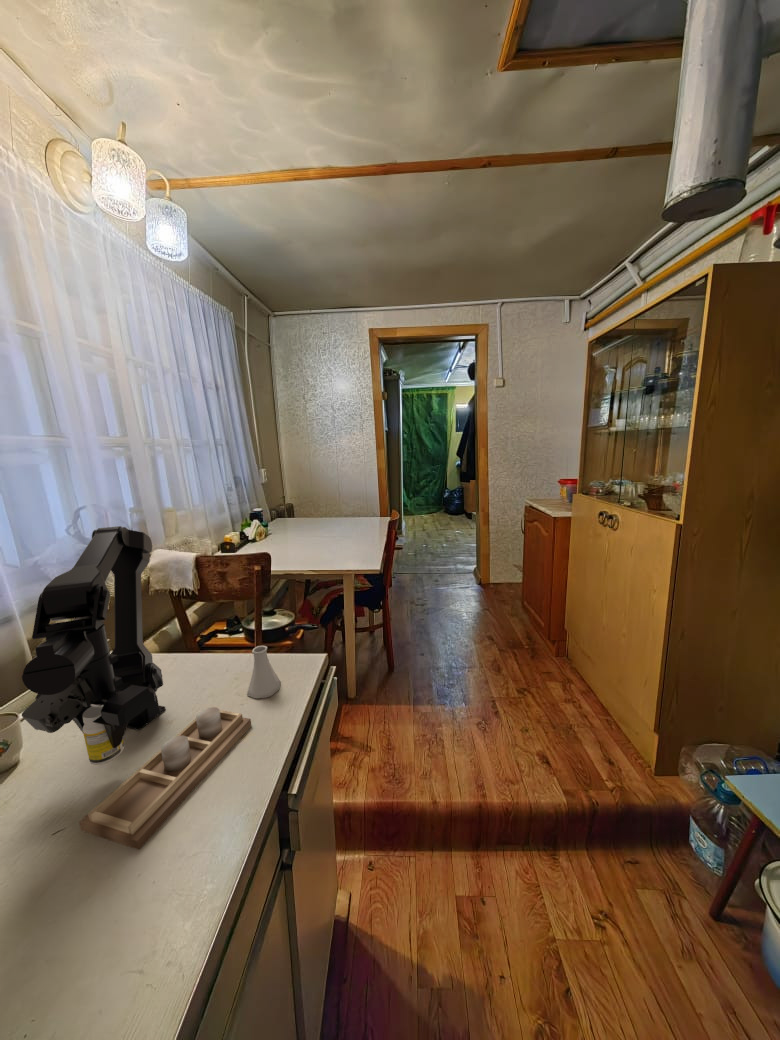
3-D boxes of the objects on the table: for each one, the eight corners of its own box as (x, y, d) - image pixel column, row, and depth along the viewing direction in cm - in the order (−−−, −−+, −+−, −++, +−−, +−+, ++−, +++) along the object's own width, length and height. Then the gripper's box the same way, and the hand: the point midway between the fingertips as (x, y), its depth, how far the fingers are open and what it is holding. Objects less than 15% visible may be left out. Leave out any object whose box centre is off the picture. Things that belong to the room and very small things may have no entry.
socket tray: (80, 830, 55) (74, 801, 54) (205, 716, 78) (202, 695, 77) (139, 849, 52) (132, 819, 51) (251, 725, 75) (248, 702, 74)
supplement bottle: (102, 744, 65) (93, 701, 64) (130, 742, 65) (122, 698, 64) (82, 767, 60) (71, 721, 59) (113, 764, 61) (103, 718, 59)
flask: (271, 701, 82) (266, 658, 80) (240, 698, 83) (235, 656, 82) (286, 681, 89) (282, 641, 87) (258, 679, 90) (253, 640, 89)
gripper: (-18, 679, 55) (7, 771, 58) (75, 697, 49) (97, 798, 52) (66, 641, 65) (84, 721, 68) (150, 653, 60) (165, 739, 63)
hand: (105, 743), depth 63 cm, fingers closed on supplement bottle, 5 cm apart
